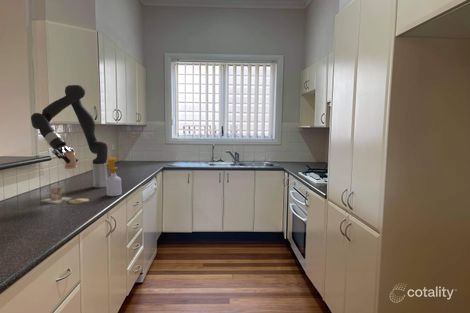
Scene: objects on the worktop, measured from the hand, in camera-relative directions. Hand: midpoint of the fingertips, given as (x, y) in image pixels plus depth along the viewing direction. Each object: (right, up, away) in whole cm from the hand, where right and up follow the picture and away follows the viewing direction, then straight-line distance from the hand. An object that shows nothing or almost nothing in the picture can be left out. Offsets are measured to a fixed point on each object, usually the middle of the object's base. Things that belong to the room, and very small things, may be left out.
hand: (73, 161), depth 178 cm
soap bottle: (+16, -22, +21) cm, 34 cm away
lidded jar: (-2, -4, +1) cm, 4 cm away
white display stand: (-12, -23, +4) cm, 27 cm away
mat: (+2, -24, +3) cm, 24 cm away
